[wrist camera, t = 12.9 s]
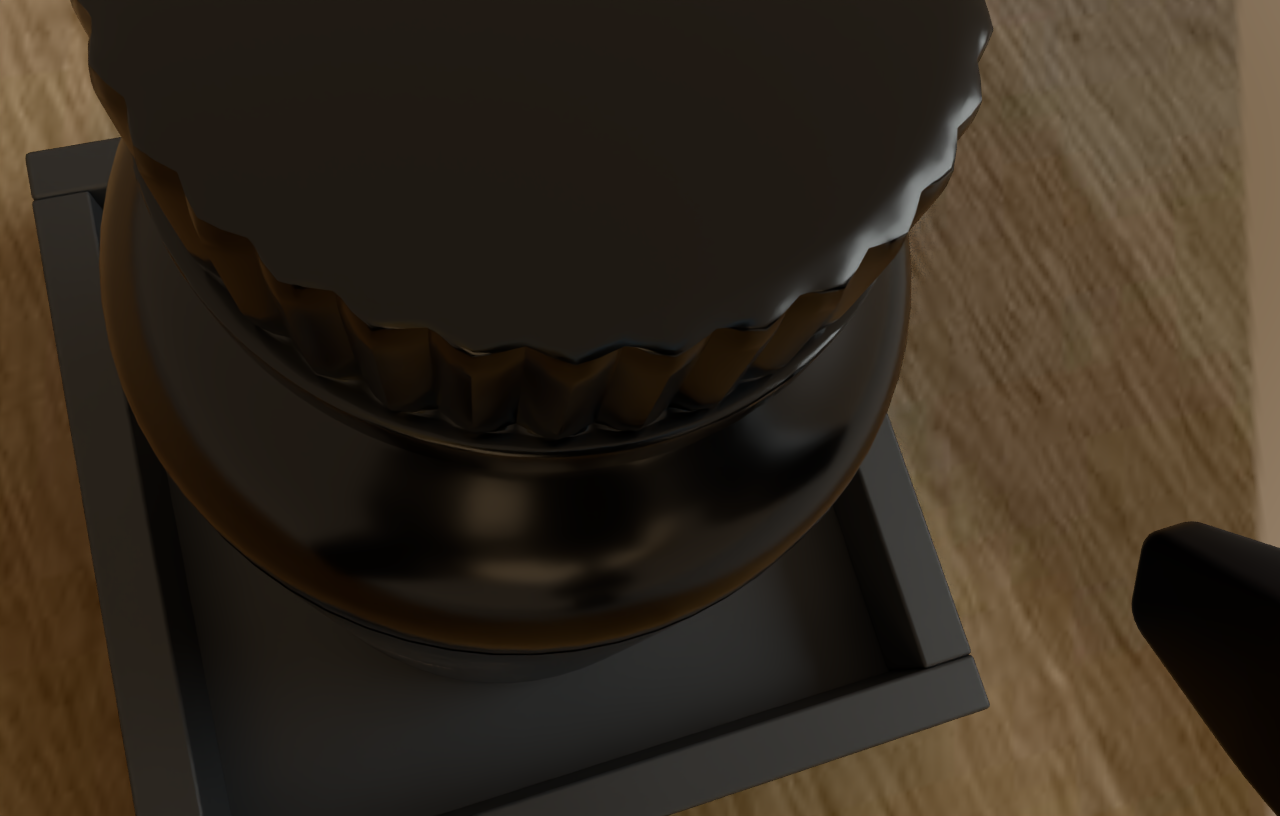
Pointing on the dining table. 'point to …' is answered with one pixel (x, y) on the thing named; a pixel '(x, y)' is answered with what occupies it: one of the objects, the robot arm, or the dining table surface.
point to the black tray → (458, 710)
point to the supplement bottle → (518, 291)
